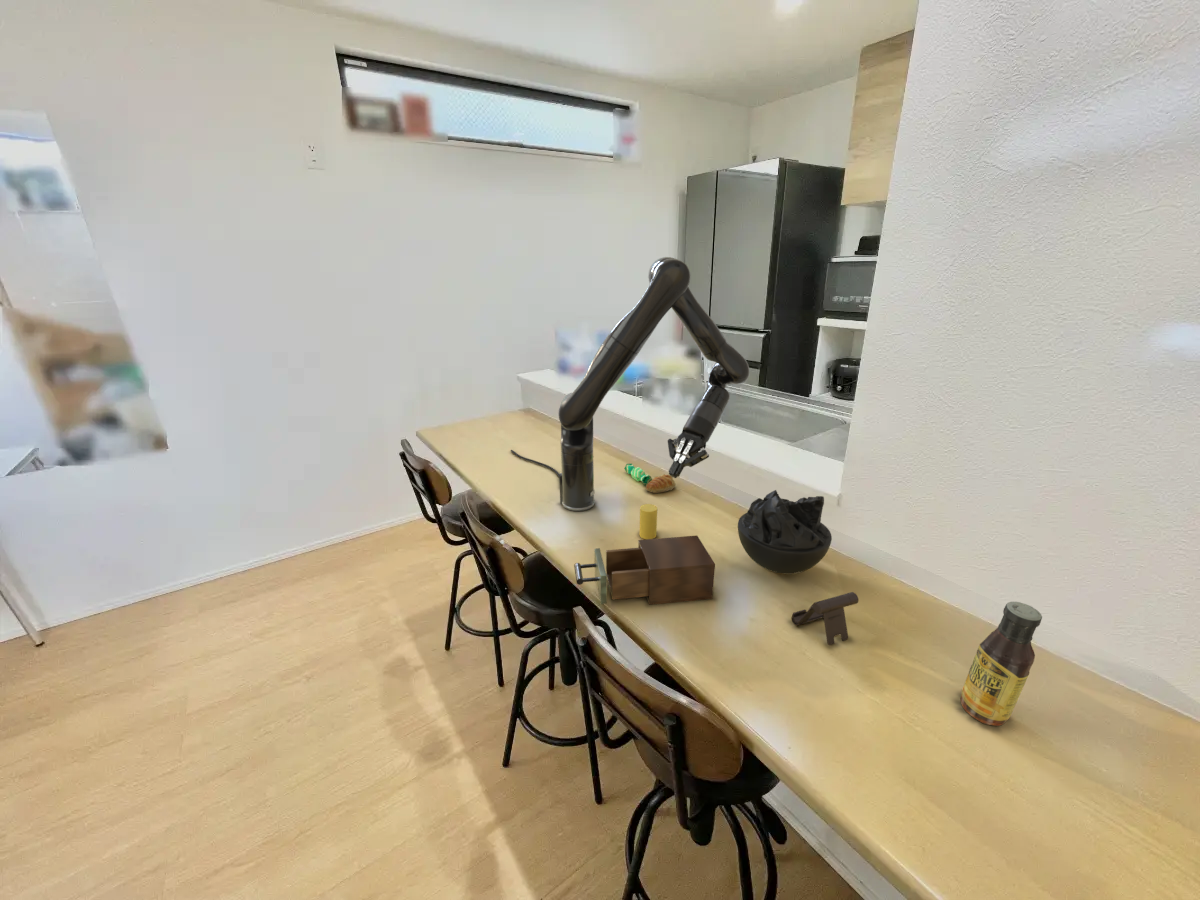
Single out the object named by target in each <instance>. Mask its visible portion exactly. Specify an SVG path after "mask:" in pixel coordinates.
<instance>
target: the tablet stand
mask: <svg viewBox="0 0 1200 900" xmlns="http://www.w3.org/2000/svg"><path fill="white" fill-rule="evenodd" d="M858 603H859V596H858V595H857V593H856V592H854V591H850V592H847V593H844V594H840V595H835V596H833V597H830V598H829V597H828V598H826V599H822V600H819V601H815V602H813V604H811V606H810V607H809V608H808V610H807V609H802V610H798V611H794V612H792V614H791V618H790V619H791V622H792V624H793V625H794V626H801V625H803V624H806V623H810V622H813V621H816V620H820V619H823V622H824V630H825V636H826V642H827V645H829V646H832V645H834V644H835V637H837V636H840V639H841V641H842V642H844V641H847V640H848V639H849V633H848V627H847V620H846V613H845V608H847V607H849V606H852V605H857V604H858Z"/></svg>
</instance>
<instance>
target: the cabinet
mask: <svg viewBox="0 0 1200 900" xmlns="http://www.w3.org/2000/svg"><path fill="white" fill-rule="evenodd" d="M637 543H638V545H637V548H641V551H642V553H643V556H644V558H645V561H646V563H647V566H648V569H649V596H645V597H646V600H647V603H648V605H649V606H651V605H664V604H673V603H684V602H691V601H692V602H695V601H704V600H712V599H713V594H714V583H715V571H716V563H715V562H714V559H713V558H712V557H711V554H710V553H709V552H708V549H706V547H705V545H704V543H703V542H702V541H701V539H700V537H699V535H686V536H685V535H684V536H674V537H673V536H672V537H662V538H661V537H660V538H654V539H638V541H637Z"/></svg>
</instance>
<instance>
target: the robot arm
mask: <svg viewBox="0 0 1200 900" xmlns="http://www.w3.org/2000/svg"><path fill="white" fill-rule="evenodd" d="M647 278H648V283H649V285H648V287H647V288H646V289H645V291H644V293H643V294H642V297H641V298H640V299H639V301H638V302H637V303H636V305H635V306H634V307H633V308H632V309H630V311H629V312H627V313H626V314H625V315H624V316H623V317H622V318H621V319H620V320H619V321H617V323H616V324H615V325H614V326H613V327H612V328H611V330H610V331H609V333H608V334H607V336H606V337H605V339H604V340H603V341H602V342H601V344H600V347H599V348H598V349H597V351H596V353H595V354H594V357H593V358H592V361H591V363H590V365H589V367H588V369H587V371H586V373H585V375H584V377H583V379H582V380H581V381H580V383H579V384H578V385H577V386H576V388H575V389H574V391H572V392H569V393H567V395H565V396H564V397H563V398H562V400H561V402H560V404H559V407H558V412H557V413H558V415H557V416H558V421H559V423H560V465H561V473H560V472H558V471H557V470H556V469H555V468H554V467H552V466H550V465H549V464H548V465H547V464H546V463H543V462H540V461H536V460H534V459H531V458H528V457H525V456H522V455H520V454H518V453H517V452H516V451H514V450H513V449H510V452H511V453H512V454H513V455H515V456H516V457H518V458H520V459H522V460H525V461H528V462H531V463H534V464H537V465H540V466H543V467H545V468H548V469H550V470H551V471H553V472H554V473H555V474H556V475H557V477H558V482H559V503H560V505H561V506H562V507H563V508H564V509H566V510H569V511H572V512H583V511H588V510H591V508H593V507H594V506H595V493H596V491H595V476H594V475H595V474H594V473H595V472H594V416H595V414H596V412H597V410H598V408H599V407H600V405H601V403H602V402H603V400H604V398H605V397H606V395H607V394H608V393H609V391H611V389H612V388H613V387H614V386H615V385H616V383H617V382H618V381H619V380H620V378H621V377H622V376H623V375H624V373H625V372H626V371H627V370H628V369H629V367H630V366H631V365H632V363H633V362H634V360H635V359H636V358H637V356H638V354H639V353H640V352H641V350H642V348H643V347H644V346H645V344H646V343H647V341H649V338H650V337H651V335H652V334H653V332H654V331H655V330H656V328H657V326H658V325H659V323H660V322H661V321H662V320H663V318H664V316H666V314H667V313H668V312H669V311H670V310H671V309H672V310H673V312H674V313H675V315H676V316H677V317H678V319H679V320H680V322H681V323H682V324H683V326H684V328H685V329H686V331H687V332H688V334H689V336H690V337H691V339H692V340H693V342H694V343H695V345H696V346H697V348H698V349H699V351H700V352H701V354H702V356H703V357H704V358H705V359H706V360H707V361H710V362H713V363H714V364H713V365H712V367H711V369H710V372H709V375H708V379H707V383H706V387H705V390H704V392H703V393H702V396H701V397H700V399H699V400H698V402H697V404H696V405H695V407H694V408H693V409H692V411H691V413H690V414H689V417H688V418H687V420H686V422H685V424H684V425H683V427H682V431H681V433H680V434H679V435H677V437H676V438H674V439H672V438H668V439H667V446H668V454H669V455H668V456H669V458H670V459H671V460H672V461H673V462H672V464H671V466H670V467H669V469H668V475H670V476H671V477H672V478H673V479H677V478H678V477H680V475H681V474H682V473H683V470H684V468H686V467H689V468H693V467H694V466H696V465H698V464H700V463H702V462H703V461H705V460H706V459H708V458H709V457H710V454H709V452H708V451H707V450H706V448H707V443H708V442H709V440H710V439H711V437H712V435H713V433H714V431H715V429H716V428H717V426H718V424H719V422H720V420H721V418H722V414H723V413H724V411H725V409H726V407H727V405H728V403H730V399H731V395H730V392H729V390H727V389H726V387H727V386H728V385H741V384H743V383H745V382H747V381H748V379H749V378H750V372H751V371H750V365H749V364H748V363H749V362H748V361H747V360H746V358H745V357H744V356H743V355H742V354H741V353H740V352H739V351H738V350H737V349H736V348H735V347H734V346H733V345H731V344H730V343H729V342H728V341H727V339H726V338H725V336H724V335H723V333H722V331H721V330H720V328H719V327H718V325H717V324H716V323H715V321H714V320H713V319H712V318H711V316H710V315H709V314H708V313H707V312H706V311H705V309H704V308H703V306H702V305H701V304H700V303H699V302H698V300H697V299H696V297H695V296H694V294H693V292H692V291H691V289H690V287H689V285H690V283H691V271H690V268H689V266H688V265H687V264H686V263H685V262H684V261H682V260H680V259H678V258H674V257H671V256H663V257H660V258H657V259H656V260H654V262H652V264H651V265H650V267H649V270H648V276H647Z"/></svg>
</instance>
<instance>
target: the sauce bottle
mask: <svg viewBox="0 0 1200 900" xmlns="http://www.w3.org/2000/svg"><path fill="white" fill-rule="evenodd" d="M1002 612H1003V615H1002V618H1001V620H1000V623H999V624H998V626H997V627H996V628H995V629H994V630H993V631H992V632H991V633H989V634H988V636H986V637H985V639H983V640H982V642H980V643H979V646H978V648H977V650H976V653H975V656H974V658H973V661H972V663H971V665H970V668H969V671H968V673H967V676H966V679H965V682H964V683H963V686H962V689H961V695H960V704H961V707H962V709H963V710H964V711H965V712H966V713H968V714H969V716H971V717H972V718H974V719H975V720H977V721H978V722H980V723H982V724H984V725H990V726H993V727H995V726H996V727H999V726H1002V725H1004V724H1005V723H1006V722H1007V721H1008V720H1009V719H1010V718H1011V715H1012V713H1013V711H1014V709H1015V707H1016V704H1017V702H1018V700H1019V698H1020V696H1021V693H1022V691H1023V689H1024V686H1025V684H1026V682H1027V680H1028V677H1029V676H1030V671H1031V668H1032V666H1033V664H1034V662H1035V659H1036V654H1035V651H1034V649H1033V645H1032V640H1033V638H1034V637H1033V636H1034V634H1035V632H1036V629H1037V628H1038V627H1039V626H1040V625H1041V622H1042V620H1043V616H1042V613H1040V611H1038V609H1036V608H1035V607H1033V606H1032V605H1029V604H1027V603H1023V602H1021V601H1009V602H1007V603H1006V604H1005V606H1004V608H1003V610H1002Z"/></svg>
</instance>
